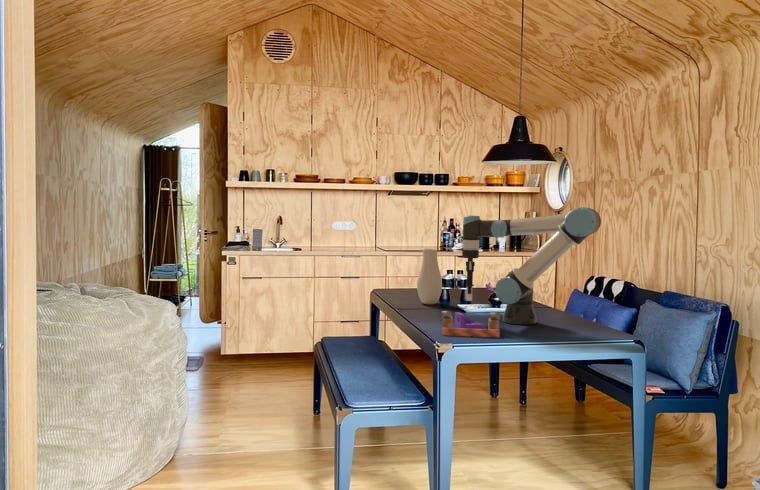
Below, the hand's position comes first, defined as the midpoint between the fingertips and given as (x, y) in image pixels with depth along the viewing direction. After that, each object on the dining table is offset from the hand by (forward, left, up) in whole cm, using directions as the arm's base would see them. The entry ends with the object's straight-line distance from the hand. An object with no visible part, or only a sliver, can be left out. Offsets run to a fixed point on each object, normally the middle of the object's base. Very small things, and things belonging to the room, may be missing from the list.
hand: (469, 300), depth 280 cm
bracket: (-1, +15, -10) cm, 18 cm away
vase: (+21, -52, -10) cm, 57 cm away
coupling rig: (0, +26, -10) cm, 28 cm away
